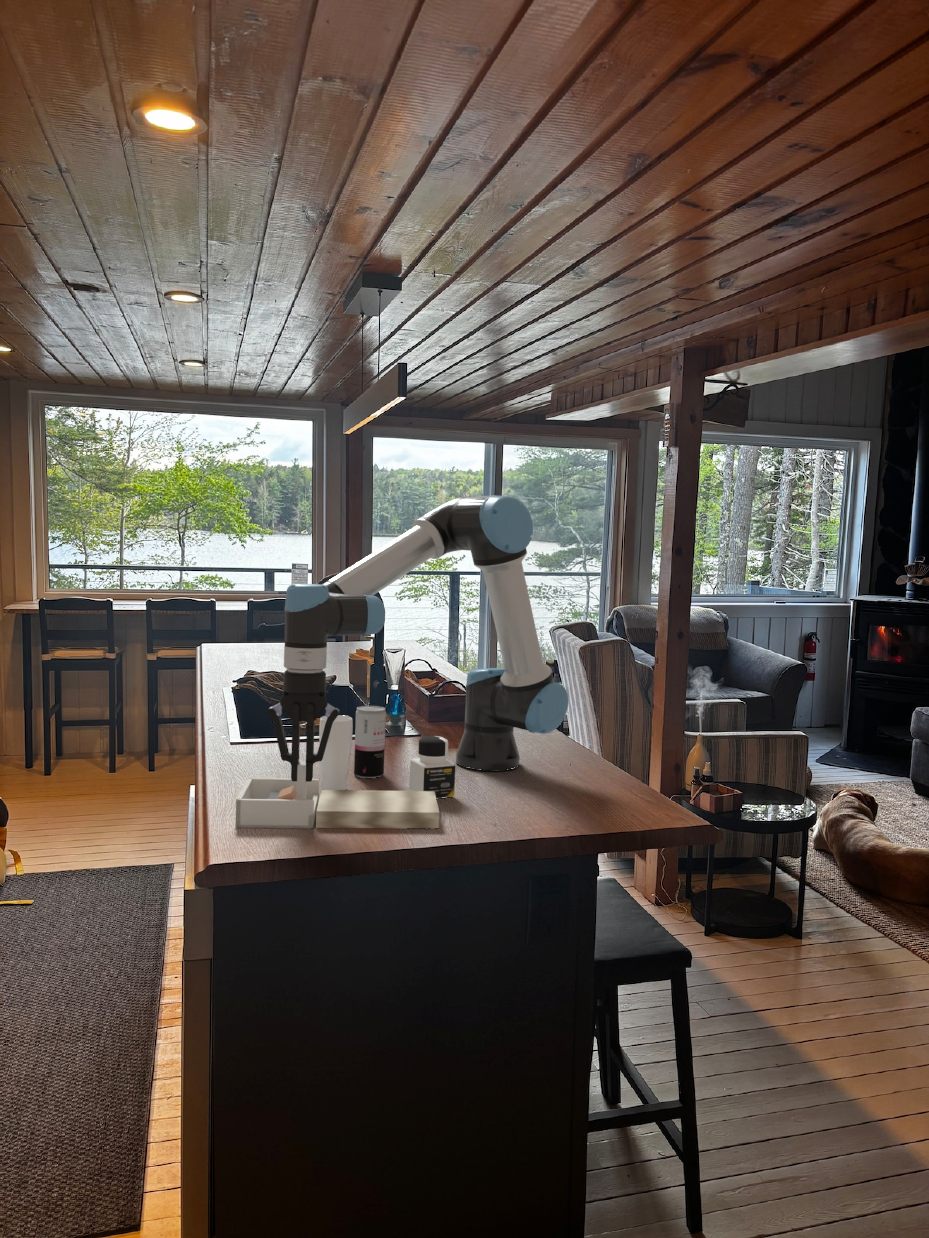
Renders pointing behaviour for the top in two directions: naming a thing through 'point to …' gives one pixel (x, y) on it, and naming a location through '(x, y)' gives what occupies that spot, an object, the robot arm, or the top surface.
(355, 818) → the board
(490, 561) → the robot arm
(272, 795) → the slate tile
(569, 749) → the top surface
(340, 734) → the white cylinder
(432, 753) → the medicine bottle
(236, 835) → the top surface
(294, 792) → the terracotta tile
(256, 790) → the tray
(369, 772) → the beverage can
